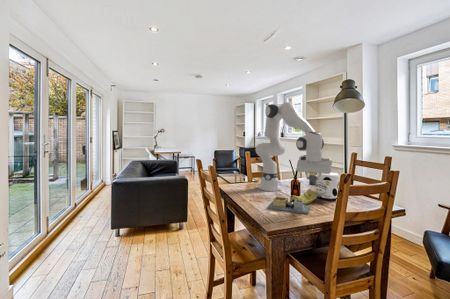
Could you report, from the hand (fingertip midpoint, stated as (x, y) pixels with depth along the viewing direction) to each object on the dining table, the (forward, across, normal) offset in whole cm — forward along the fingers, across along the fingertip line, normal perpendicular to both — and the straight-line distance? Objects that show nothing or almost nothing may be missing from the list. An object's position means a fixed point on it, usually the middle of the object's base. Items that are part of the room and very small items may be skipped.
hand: (312, 179), depth 152 cm
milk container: (+19, -8, -31) cm, 37 cm away
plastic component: (+19, +6, -13) cm, 24 cm away
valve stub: (+3, 0, 0) cm, 3 cm away
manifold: (+19, +13, +6) cm, 24 cm away
